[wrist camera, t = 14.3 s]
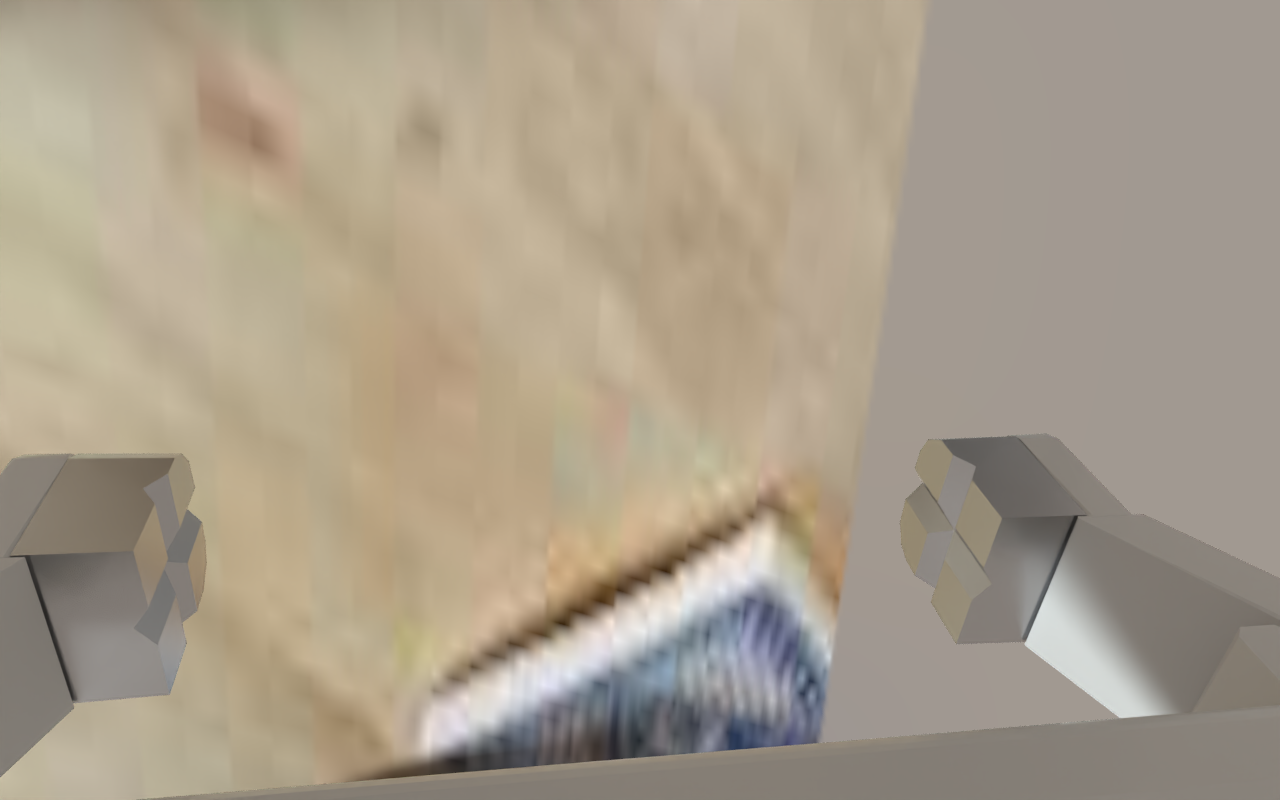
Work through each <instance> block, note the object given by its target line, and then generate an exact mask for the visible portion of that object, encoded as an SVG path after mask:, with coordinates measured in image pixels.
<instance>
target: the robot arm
mask: <svg viewBox="0 0 1280 800" xmlns="http://www.w3.org/2000/svg"><path fill="white" fill-rule="evenodd" d="M915 470H916V471H917V473H918V475H919V477H920V479H921V481H922V484H921V485H920V486H919V487H918V488H917V489H916V490H915V491H914V492H912V494H910V495H909V496H908V497H907V498H906V501H905V504H904V508H903V513H902V516H901V520H900V527H901V545H902V548H903V551H904V555H905V558H906V561H907V562H908V564H909V566H910V568H911V569H912V571H913V573H914V575H915V576H917V577H918V578H920V579H921V580H923V581H925V582H926V583H928V584H929V585H931V586H932V587H934V588H935V591H934V594H933V597H932V601H931V603H932V605H933V607H934V608H935V610H936V612H937V613H938V615H939V617H940V618H941V620H942V622H943V623H944V625H945V626H946V628H947V630H948V631H949V633H950V635H951V636H952V638H953V640H954V641H955V643H956V644H974V643H1001V642H1026V643H1025V646H1027V647H1028V648H1029V649H1030V650H1032V651H1033V652H1034V653H1036V654H1037V655H1038V656H1040V657H1041V658H1042V659H1043V660H1045V661H1046V662H1047V663H1049V664H1050V665H1051V666H1053V667H1054V668H1055V669H1057V670H1058V671H1059V672H1060V673H1062V674H1063V675H1065V676H1066V677H1067V678H1068V679H1070V680H1071V681H1072V682H1074V683H1075V684H1076V685H1077V686H1079V687H1080V688H1081V689H1083V690H1084V691H1086V692H1087V693H1088V694H1089V695H1091V696H1092V697H1093V698H1094V699H1096V700H1097V701H1098V702H1100V703H1101V704H1102V705H1104V706H1105V707H1106V708H1108V709H1109V710H1110V711H1111V712H1113V713H1114V714H1116V715H1117V716H1118V717H1119V718H1117V719H1105V720H1093V721H1081V722H1069V723H1057V724H1045V725H1034V726H1022V727H1009V728H996V729H984V730H972V731H961V732H948V733H936V734H924V735H912V736H900V737H888V738H876V739H865V740H852V741H839V742H827V743H815V744H802V745H790V746H778V747H765V748H753V749H741V750H729V751H716V752H704V753H692V754H679V755H667V756H655V757H643V758H630V759H618V760H606V761H594V762H581V763H569V764H557V765H545V766H533V767H521V768H509V769H497V770H485V771H474V772H462V773H450V774H438V775H426V776H414V777H402V778H390V779H379V780H367V781H355V782H343V783H331V784H319V785H307V786H296V787H284V788H272V789H260V790H248V791H236V792H224V793H213V794H201V795H189V796H176V797H164V798H151V799H138V800H1280V578H1278V577H1276V576H1274V575H1272V574H1270V573H1268V572H1265V571H1263V570H1261V569H1259V568H1257V567H1255V566H1253V565H1250V564H1248V563H1246V562H1244V561H1242V560H1240V559H1238V558H1236V557H1234V556H1231V555H1229V554H1227V553H1225V552H1223V551H1221V550H1219V549H1217V548H1214V547H1212V546H1210V545H1208V544H1206V543H1204V542H1201V541H1200V540H1197V539H1195V538H1193V537H1191V536H1189V535H1187V534H1185V533H1183V532H1180V531H1178V530H1176V529H1174V528H1172V527H1170V526H1168V525H1165V524H1163V523H1161V522H1159V521H1157V520H1155V519H1152V518H1150V517H1148V516H1146V515H1144V514H1138V515H1137V514H1136V515H1132V514H1131V513H1130V512H1129V511H1128V510H1127V509H1126V508H1125V507H1124V506H1123V505H1122V504H1121V503H1120V502H1119V501H1118V500H1117V499H1116V498H1115V497H1114V496H1113V495H1112V494H1111V493H1110V492H1109V491H1108V489H1107V488H1106V487H1105V486H1104V485H1103V484H1102V483H1101V482H1100V481H1099V480H1098V479H1097V478H1096V477H1095V476H1094V475H1093V474H1092V473H1091V472H1090V471H1089V470H1088V469H1087V468H1086V467H1085V466H1084V465H1083V463H1082V462H1081V461H1080V460H1078V458H1077V457H1076V456H1075V455H1074V454H1073V453H1072V452H1071V451H1070V450H1069V449H1068V448H1067V447H1066V446H1065V445H1064V444H1063V443H1062V442H1061V441H1060V440H1059V439H1058V438H1056V437H1053V436H1051V435H1049V434H1031V435H1030V434H1029V435H1011V436H1007V437H982V438H955V439H930V440H928V441H927V442H926V444H925V445H924V446H923V448H922V449H921V450H920V453H919V457H918V460H917V463H916V466H915ZM194 489H195V485H194V481H193V477H192V472H191V468H190V464H189V461H188V460H187V459H186V458H185V457H184V455H183V454H77V455H74V454H33V455H21V456H19V457H16V458H13V459H12V460H11V461H10V462H9V463H8V464H7V466H6V467H5V469H4V470H3V471H2V473H1V474H0V777H1V776H2V775H3V774H4V773H5V772H6V771H7V770H9V769H10V768H11V767H12V766H13V765H14V764H15V763H16V762H17V761H18V760H19V759H20V758H21V757H22V756H23V755H25V754H26V753H27V752H28V751H29V750H30V749H31V748H32V747H33V746H34V745H35V744H36V743H37V742H38V741H39V740H41V739H42V738H43V737H44V736H45V735H46V734H47V733H48V732H49V731H50V730H51V729H52V728H53V727H54V726H55V725H57V724H58V723H59V722H60V721H61V720H62V719H63V718H64V717H65V716H66V715H67V714H68V713H69V712H70V711H71V710H73V709H74V704H73V703H81V702H92V701H103V700H115V699H126V698H137V697H148V696H159V695H170V692H171V689H172V686H173V683H174V680H175V677H176V674H177V671H178V668H179V665H180V662H181V659H182V656H183V653H184V650H185V647H186V644H187V642H186V638H185V633H184V628H183V624H182V622H184V621H185V620H186V619H187V618H189V617H190V616H191V615H193V614H194V613H195V612H196V611H197V610H198V607H199V603H200V600H201V597H202V593H203V590H204V582H205V573H206V564H207V561H206V543H205V536H204V531H203V525H202V522H201V521H200V520H199V519H198V518H197V517H196V516H194V515H193V514H192V513H191V512H190V511H189V510H187V508H188V505H189V502H190V500H191V497H192V494H193V492H194Z"/></svg>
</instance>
